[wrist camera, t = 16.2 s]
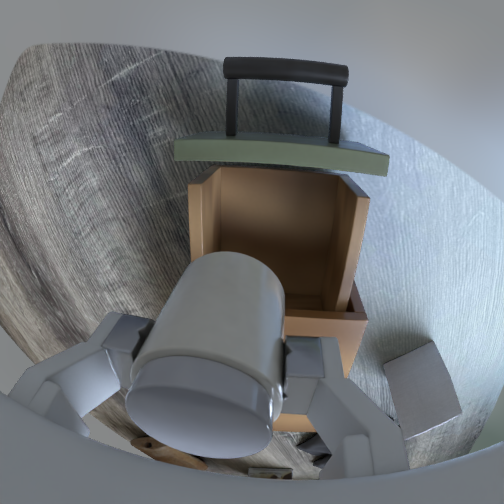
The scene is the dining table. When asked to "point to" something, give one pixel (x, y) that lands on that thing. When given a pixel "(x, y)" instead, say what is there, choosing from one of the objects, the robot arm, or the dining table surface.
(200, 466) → the tan clay pipe bowl
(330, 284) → the drawer
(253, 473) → the coffee box
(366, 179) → the dining table surface
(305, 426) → the cabinet
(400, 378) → the light grey paper bag
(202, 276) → the salt shaker
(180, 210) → the dining table surface
